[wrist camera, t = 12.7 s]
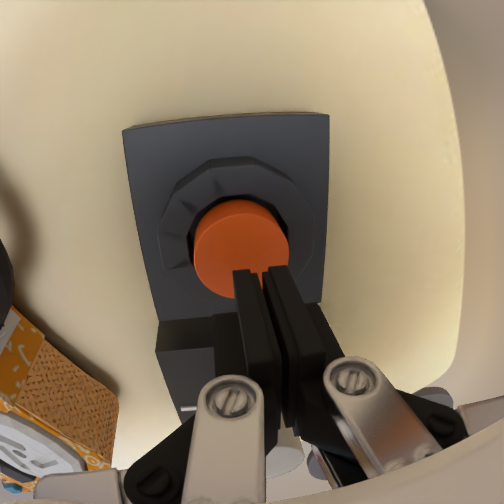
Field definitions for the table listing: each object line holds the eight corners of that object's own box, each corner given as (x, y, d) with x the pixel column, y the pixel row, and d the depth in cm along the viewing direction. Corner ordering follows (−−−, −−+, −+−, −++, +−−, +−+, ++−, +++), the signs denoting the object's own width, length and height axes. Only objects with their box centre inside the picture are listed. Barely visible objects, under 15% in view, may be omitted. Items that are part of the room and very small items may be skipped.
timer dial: (261, 367, 18) (278, 442, 13) (299, 400, 20) (319, 464, 16) (196, 400, 19) (199, 471, 14) (240, 428, 21) (250, 490, 16)
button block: (310, 281, 19) (332, 322, 16) (162, 298, 18) (155, 344, 15) (314, 112, 15) (346, 117, 11) (132, 126, 14) (109, 135, 10)
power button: (279, 271, 15) (288, 293, 13) (199, 280, 14) (200, 303, 13) (279, 195, 13) (289, 209, 11) (189, 203, 12) (187, 219, 11)
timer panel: (305, 400, 25) (314, 429, 22) (189, 416, 24) (190, 446, 21) (316, 300, 20) (332, 332, 17) (159, 318, 19) (154, 353, 16)
